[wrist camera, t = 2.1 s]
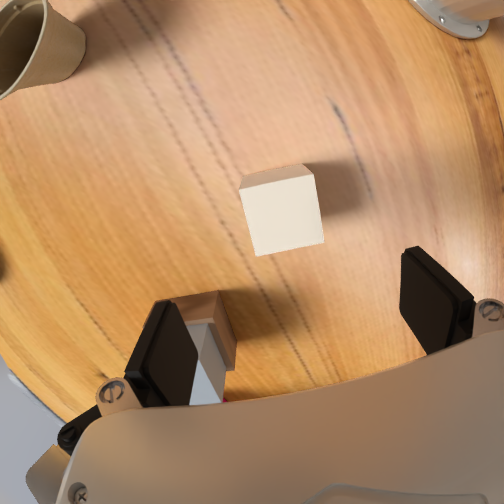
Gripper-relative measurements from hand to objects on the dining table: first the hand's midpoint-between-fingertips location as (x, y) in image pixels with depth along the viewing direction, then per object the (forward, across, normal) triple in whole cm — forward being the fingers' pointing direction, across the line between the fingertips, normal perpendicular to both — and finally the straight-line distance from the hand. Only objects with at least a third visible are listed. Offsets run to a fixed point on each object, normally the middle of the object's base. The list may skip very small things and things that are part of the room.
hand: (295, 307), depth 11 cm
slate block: (+10, +10, +10) cm, 18 cm away
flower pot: (+14, +15, -21) cm, 30 cm away
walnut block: (+15, +10, +10) cm, 21 cm away
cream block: (+14, -1, -1) cm, 15 cm away
